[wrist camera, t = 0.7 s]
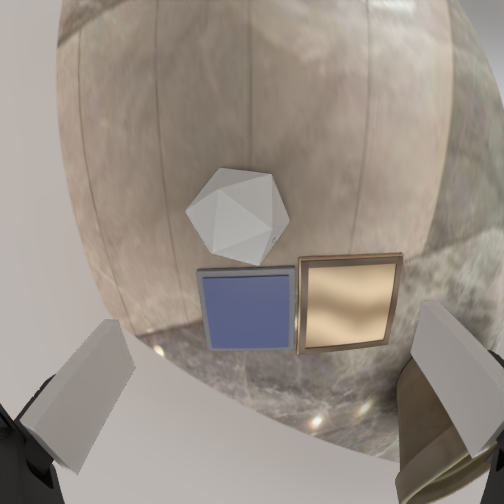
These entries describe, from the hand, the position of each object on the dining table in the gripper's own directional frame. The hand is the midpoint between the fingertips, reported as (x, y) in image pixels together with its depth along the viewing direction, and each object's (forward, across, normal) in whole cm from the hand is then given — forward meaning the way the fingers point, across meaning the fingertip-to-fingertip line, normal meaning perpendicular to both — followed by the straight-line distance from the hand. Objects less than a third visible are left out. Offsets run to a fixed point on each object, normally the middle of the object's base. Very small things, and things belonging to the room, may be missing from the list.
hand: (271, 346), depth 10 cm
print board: (+20, +10, -10) cm, 24 cm away
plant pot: (+20, +27, -25) cm, 42 cm away
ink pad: (+20, -3, -10) cm, 22 cm away
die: (+20, -3, +2) cm, 21 cm away
